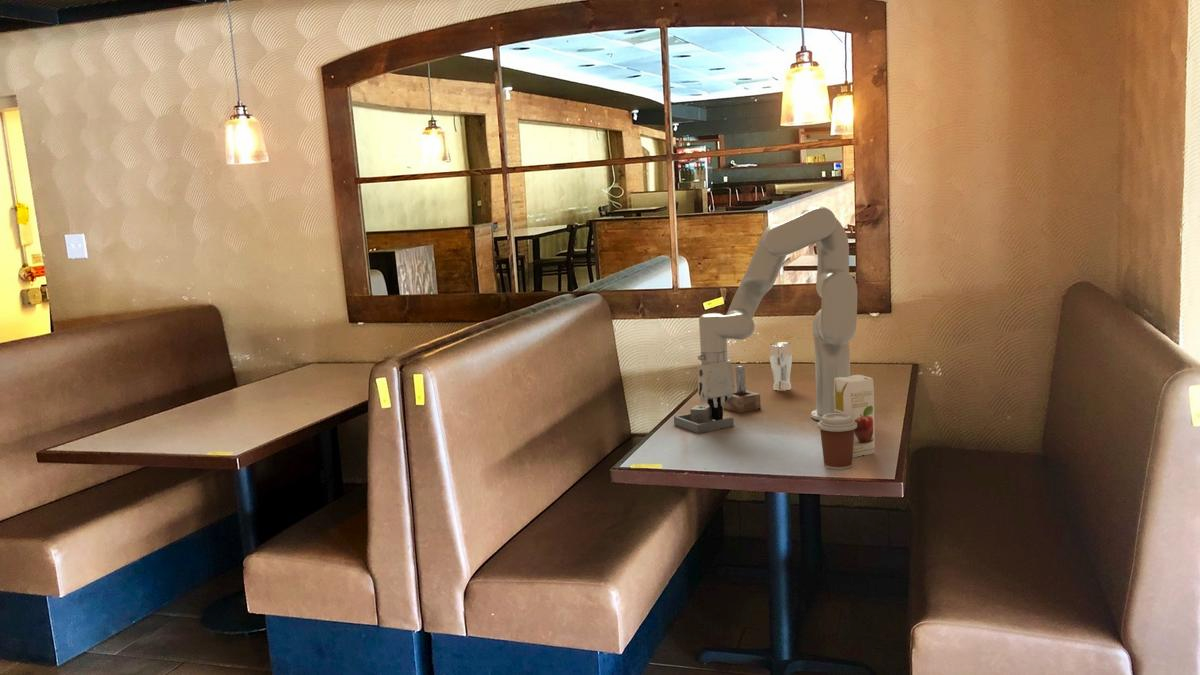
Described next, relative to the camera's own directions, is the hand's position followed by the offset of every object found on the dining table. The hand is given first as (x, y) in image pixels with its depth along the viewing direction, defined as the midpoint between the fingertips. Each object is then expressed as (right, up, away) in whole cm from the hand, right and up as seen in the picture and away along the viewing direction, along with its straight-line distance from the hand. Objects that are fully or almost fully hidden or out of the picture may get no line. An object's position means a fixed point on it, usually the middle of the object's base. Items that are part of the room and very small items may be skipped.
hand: (717, 419), depth 263 cm
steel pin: (+9, +2, +15) cm, 18 cm away
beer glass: (+26, +6, +37) cm, 46 cm away
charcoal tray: (-4, -1, -2) cm, 5 cm away
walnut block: (+9, +2, +15) cm, 18 cm away
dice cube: (-5, -2, -1) cm, 5 cm away
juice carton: (+29, -5, -37) cm, 48 cm away
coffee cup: (+23, -7, -46) cm, 52 cm away
